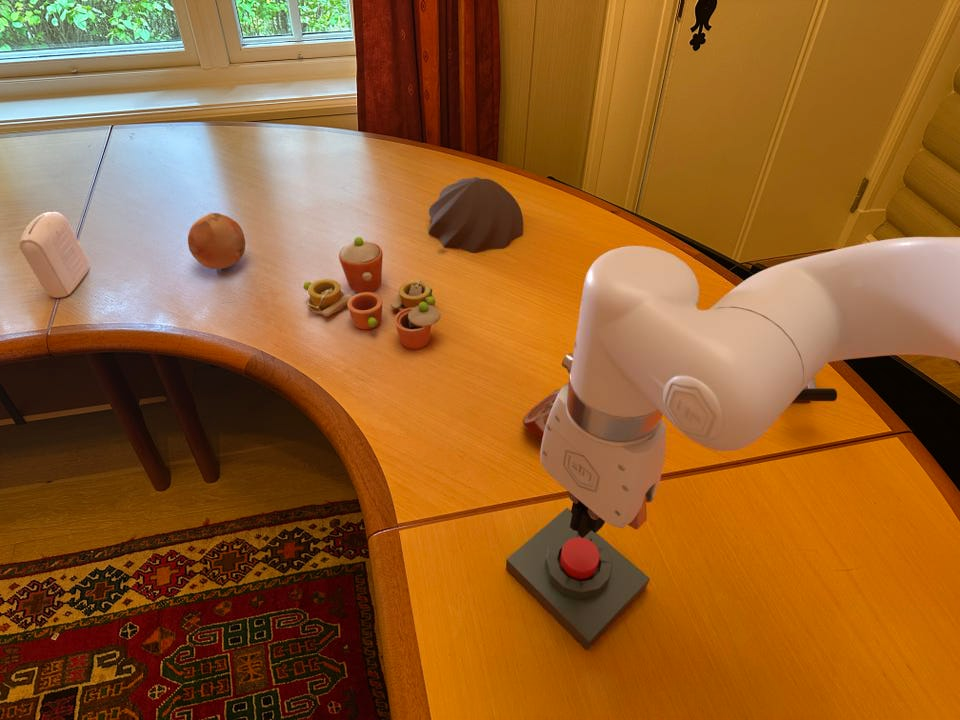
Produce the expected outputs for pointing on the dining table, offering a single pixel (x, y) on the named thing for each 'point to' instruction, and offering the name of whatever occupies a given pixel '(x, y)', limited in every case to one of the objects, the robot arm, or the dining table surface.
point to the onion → (216, 241)
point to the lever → (816, 393)
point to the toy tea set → (375, 296)
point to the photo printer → (54, 254)
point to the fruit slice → (540, 415)
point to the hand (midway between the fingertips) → (586, 524)
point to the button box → (576, 581)
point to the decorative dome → (475, 216)
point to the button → (579, 558)
